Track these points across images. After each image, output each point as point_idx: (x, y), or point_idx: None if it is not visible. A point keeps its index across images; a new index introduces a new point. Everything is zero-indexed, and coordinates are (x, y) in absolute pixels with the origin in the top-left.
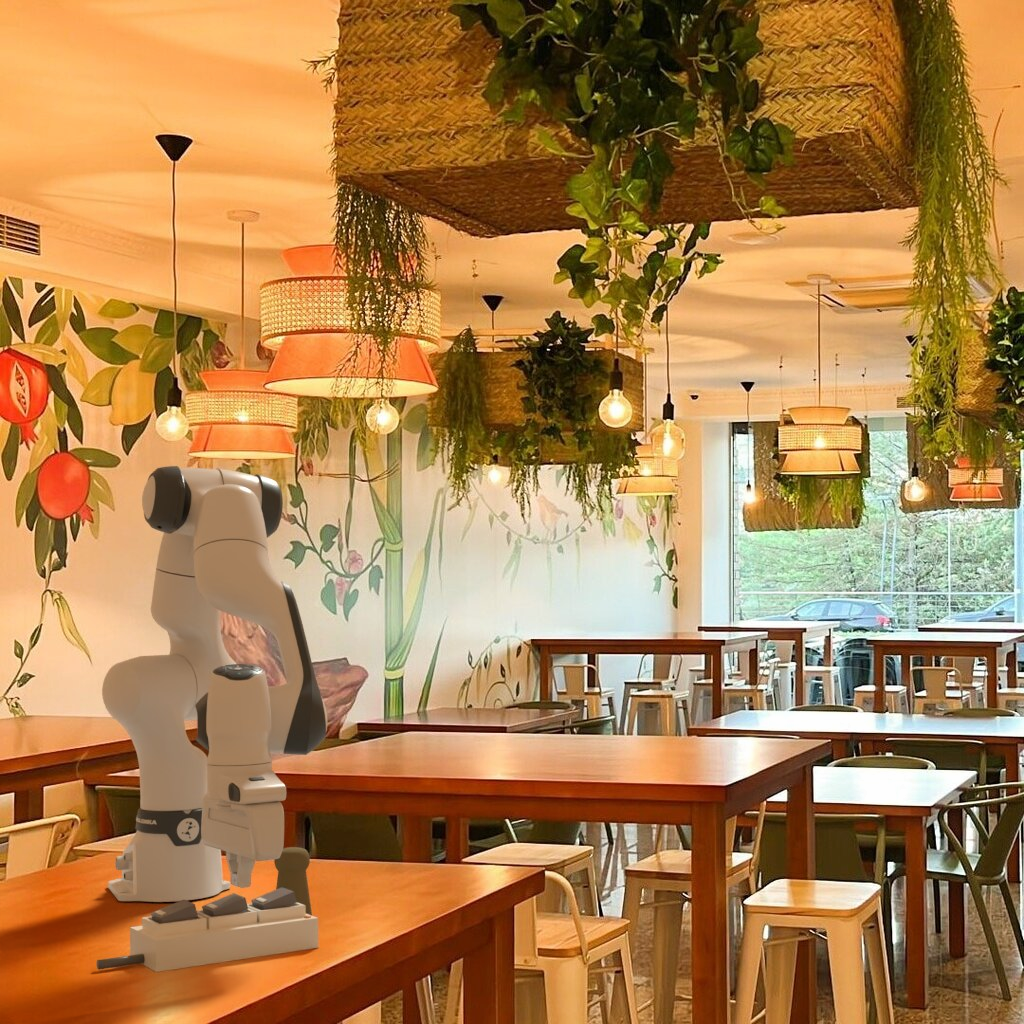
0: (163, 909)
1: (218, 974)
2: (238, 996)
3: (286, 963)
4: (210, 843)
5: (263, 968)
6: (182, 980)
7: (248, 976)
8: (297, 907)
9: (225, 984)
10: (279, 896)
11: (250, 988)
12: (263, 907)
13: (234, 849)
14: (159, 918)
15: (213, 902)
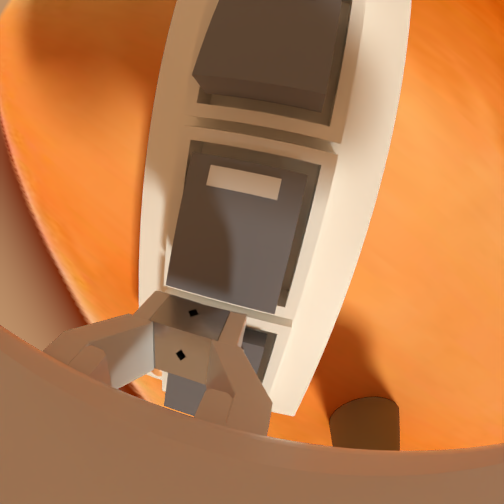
0: (316, 9)
1: (106, 86)
2: (12, 71)
3: (98, 227)
4: (464, 463)
5: (91, 175)
6: (119, 18)
7: (66, 125)
8: (162, 375)
9: (55, 73)
10: (178, 377)
11: (24, 98)
12: None
13: (10, 356)
14: None
15: (285, 218)
